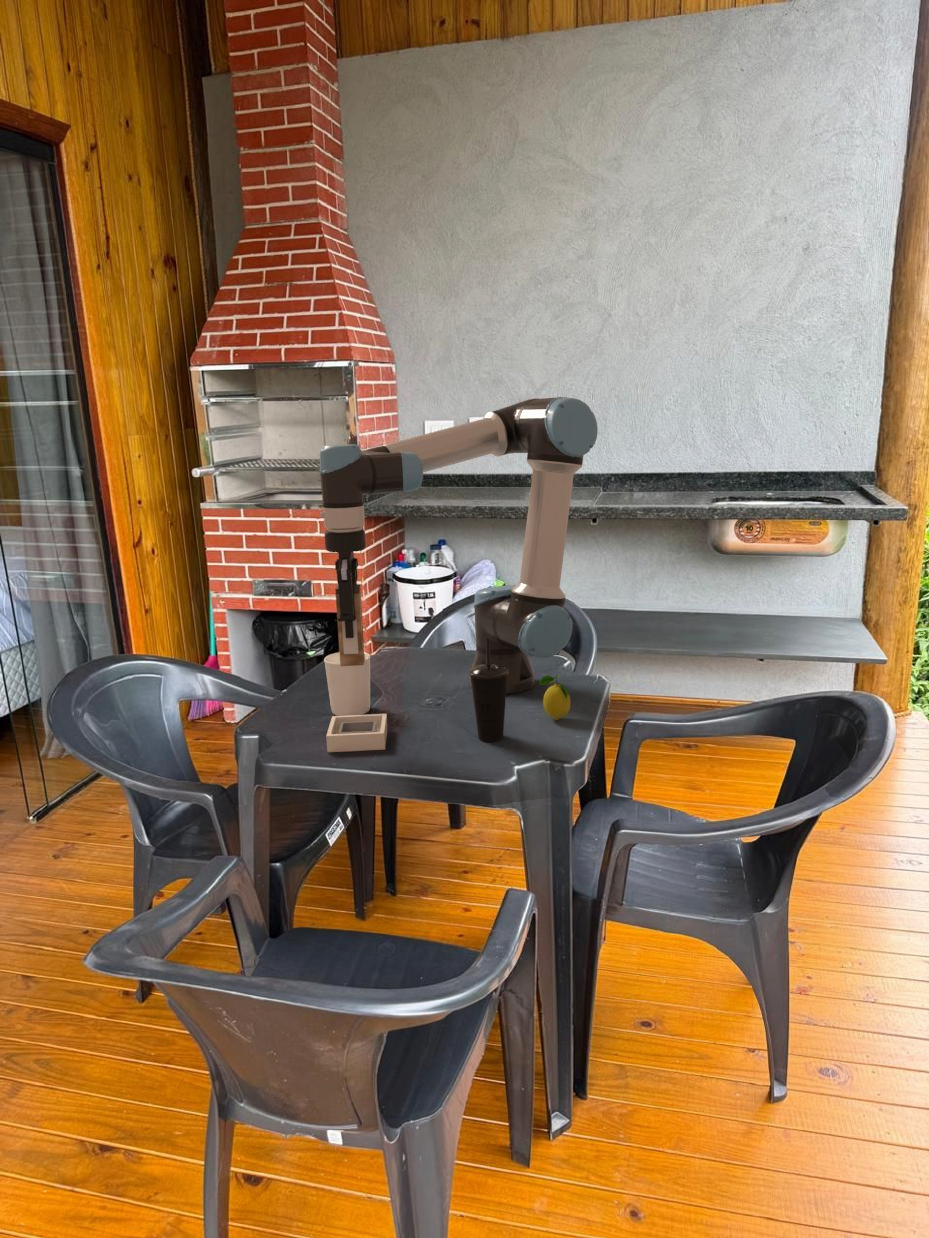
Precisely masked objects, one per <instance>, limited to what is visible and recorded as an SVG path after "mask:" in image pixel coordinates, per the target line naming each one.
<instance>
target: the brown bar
mask: <svg viewBox="0 0 929 1238" xmlns="http://www.w3.org/2000/svg"><path fill="white" fill-rule="evenodd" d="M334 590H335V603H336V605H335V606H336V607H335V608H336V618H337V633H338V646H339V647H338V649H339V651H338V652H340V666H358V665H364V662H365V655H364V652H365V643H364V641H365V640H364V626H363V625H364V624H363V609H362V607H363V605H362V591H361V590H362V589H361V584H357V585H354V601H355V616H356V619H355V620H357V637H358V654H344V648H343V633H342V621H338V618H340V601H339V587H338V585H336V588H335V589H334Z"/></svg>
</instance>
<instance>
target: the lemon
mask: <svg viewBox="0 0 929 1238" xmlns="http://www.w3.org/2000/svg"><path fill="white" fill-rule="evenodd" d="M554 682H555V684H553V685H551V686H549V687H548V688H547V690H546V691H545V693H544V695H543V699H542V704H543V710H544V711H545V713H546V714H547V715H548V716H549V717H552V718H553V719H554V720H555V721H559V720H560V719H561V718H563V717H565V716H567V714H568V713H569V712H570V710H571V700H572V697H571V694H570V692H569V691H568V689H567V688H566V687H565V686H564V684H562V683H560V682H558V673H556V674H555V677H552V676H551V675H544V676H542V677H541V678H540V680H539V683H538V685H540V686H545V685H549V684H552V683H554Z"/></svg>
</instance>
